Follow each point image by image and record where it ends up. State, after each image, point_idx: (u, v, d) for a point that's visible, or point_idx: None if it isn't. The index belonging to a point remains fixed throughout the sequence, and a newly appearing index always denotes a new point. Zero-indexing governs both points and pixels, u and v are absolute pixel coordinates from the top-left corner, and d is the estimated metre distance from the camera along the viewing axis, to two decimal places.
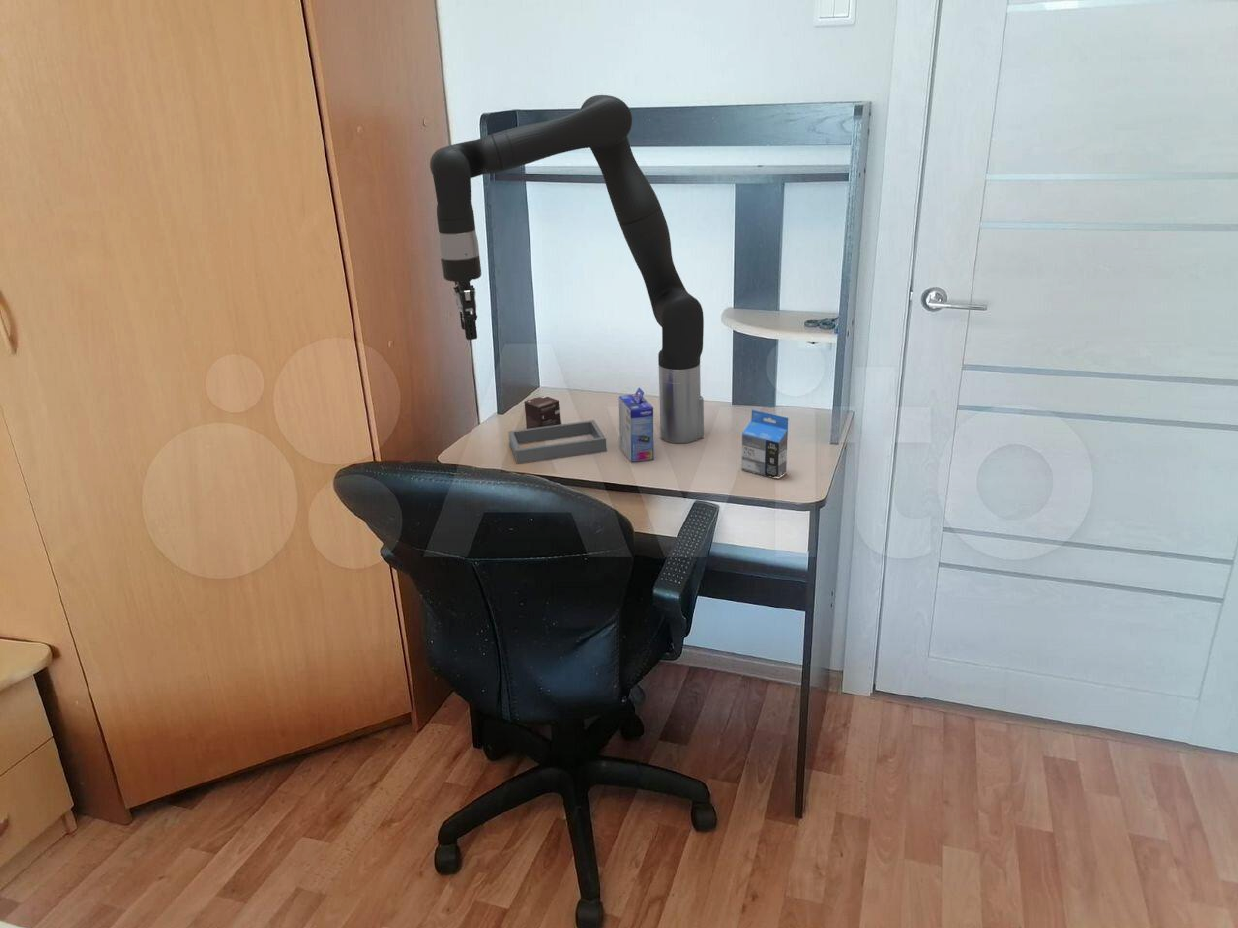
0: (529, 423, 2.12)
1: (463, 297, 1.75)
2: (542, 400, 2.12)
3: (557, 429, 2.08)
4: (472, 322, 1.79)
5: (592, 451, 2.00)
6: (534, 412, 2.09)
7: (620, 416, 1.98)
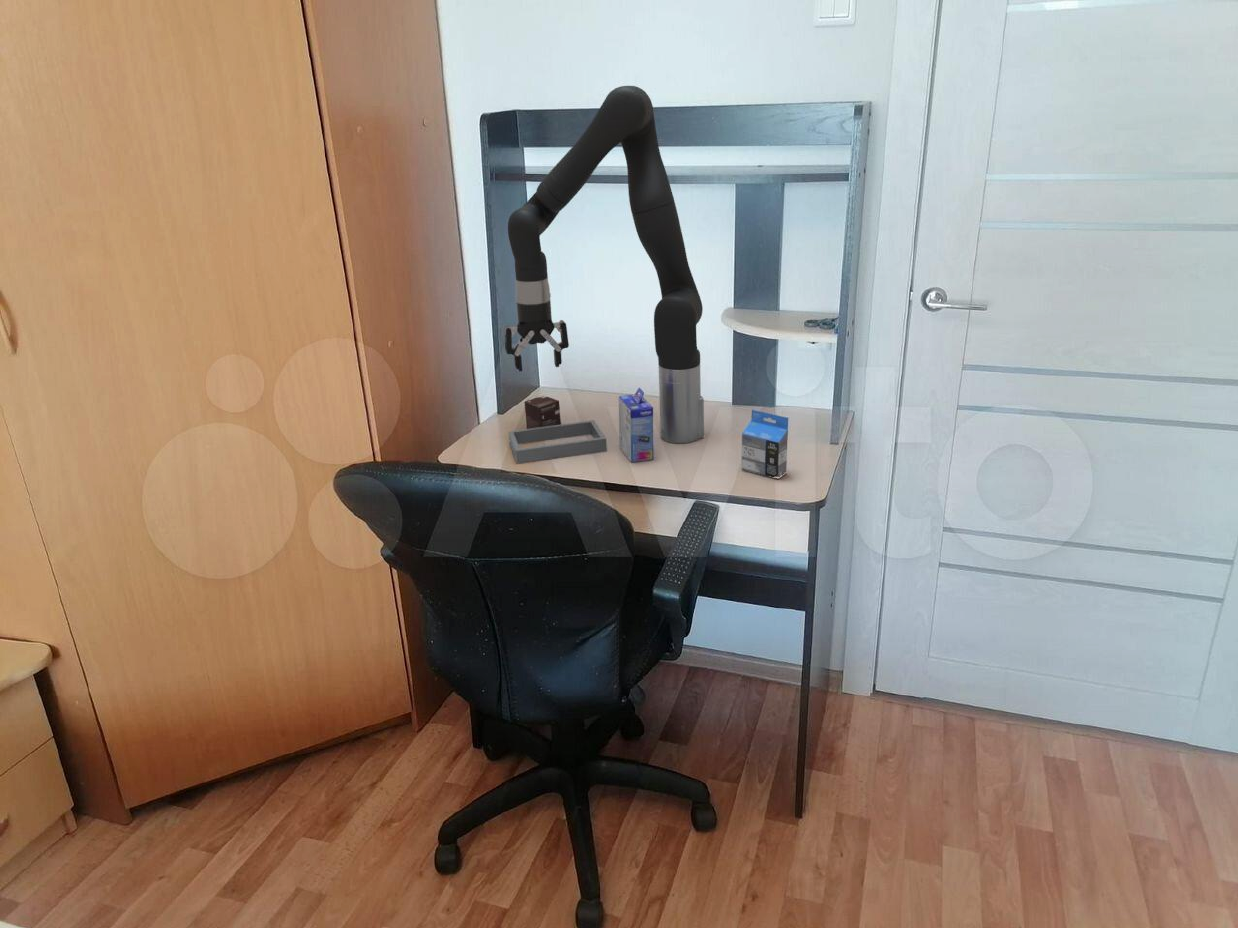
0: (529, 423, 2.12)
1: None
2: (542, 400, 2.12)
3: (557, 429, 2.08)
4: None
5: (592, 451, 2.00)
6: (534, 412, 2.09)
7: (620, 416, 1.98)
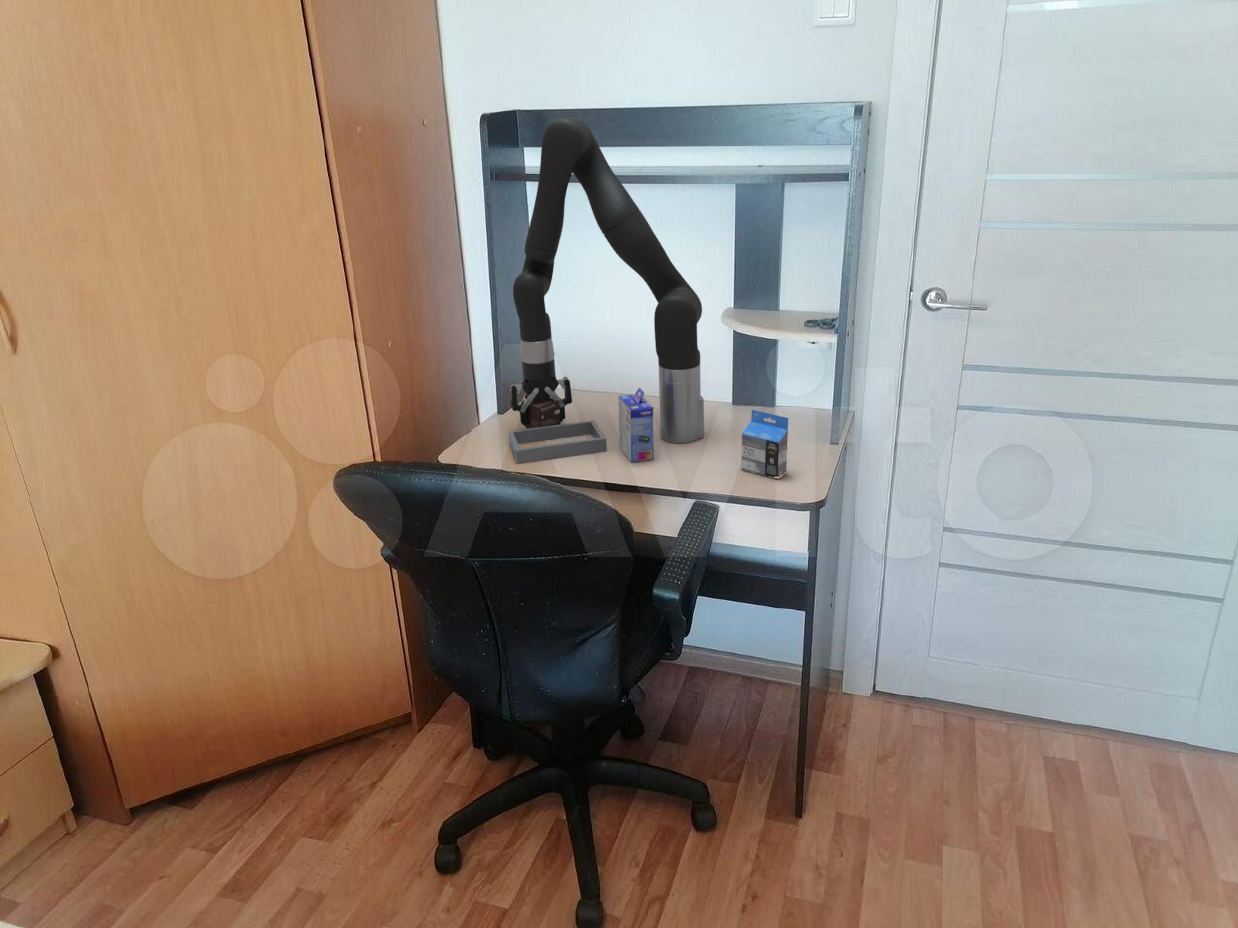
0: (529, 423, 2.12)
1: None
2: (542, 399, 2.12)
3: (557, 429, 2.08)
4: None
5: (592, 451, 2.00)
6: (534, 411, 2.09)
7: (620, 416, 1.98)
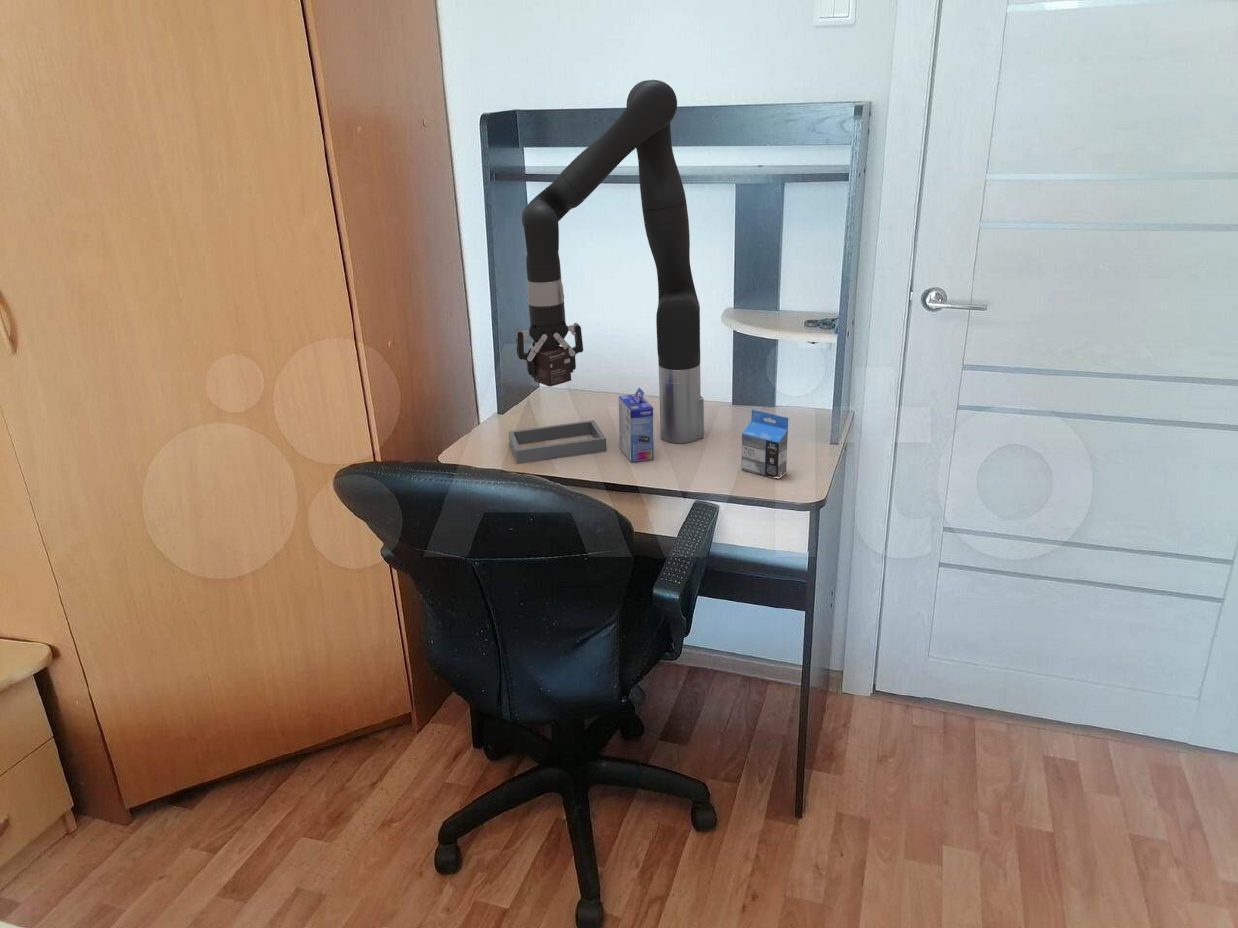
0: (536, 373, 1.96)
1: None
2: (551, 348, 1.95)
3: (557, 429, 2.08)
4: None
5: (592, 451, 2.00)
6: (542, 360, 1.93)
7: (620, 416, 1.98)
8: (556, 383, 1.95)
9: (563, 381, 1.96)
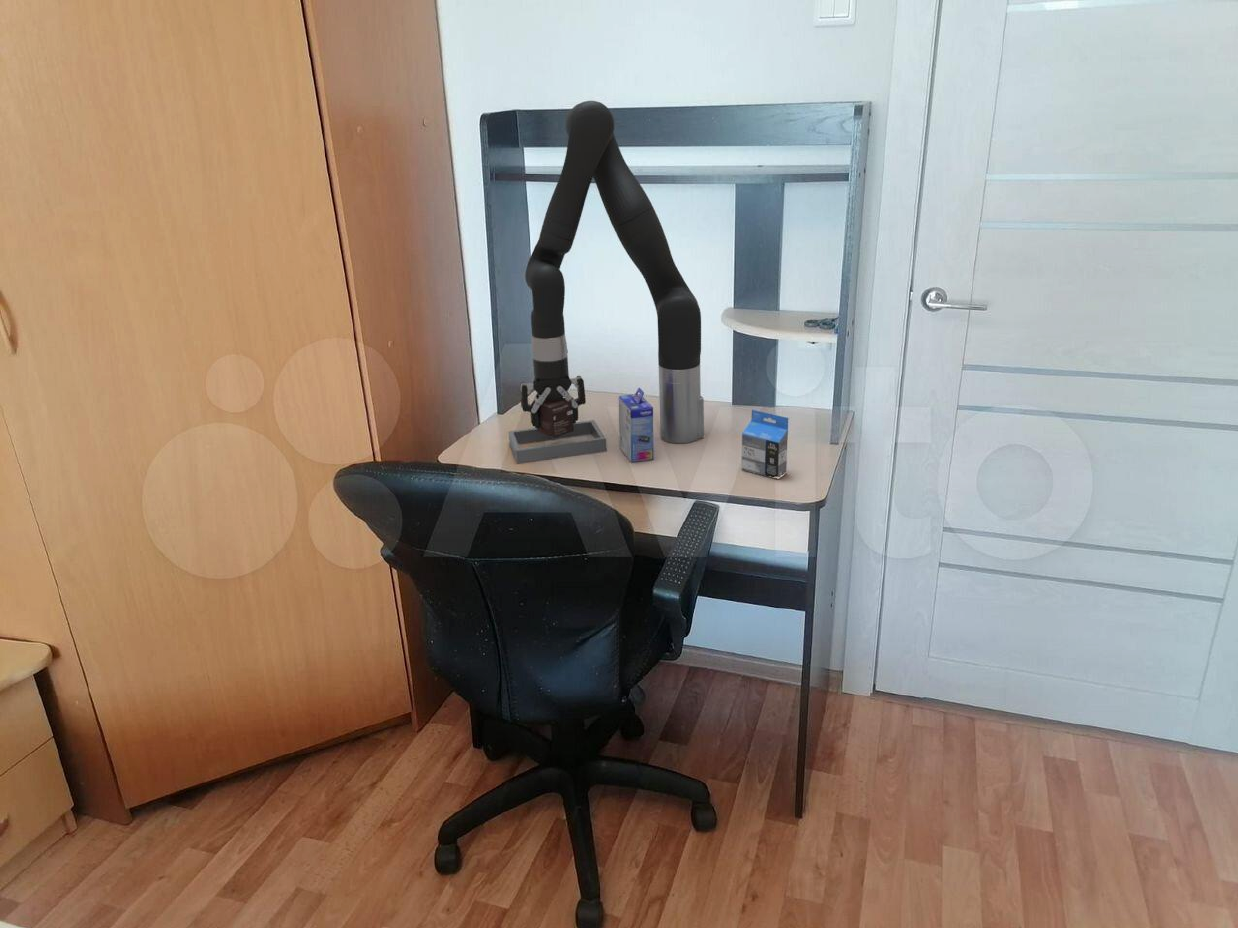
0: (540, 424, 2.01)
1: None
2: (554, 399, 2.00)
3: None
4: None
5: (592, 451, 2.00)
6: (546, 412, 1.98)
7: (620, 416, 1.98)
8: (559, 434, 2.00)
9: (566, 432, 2.01)
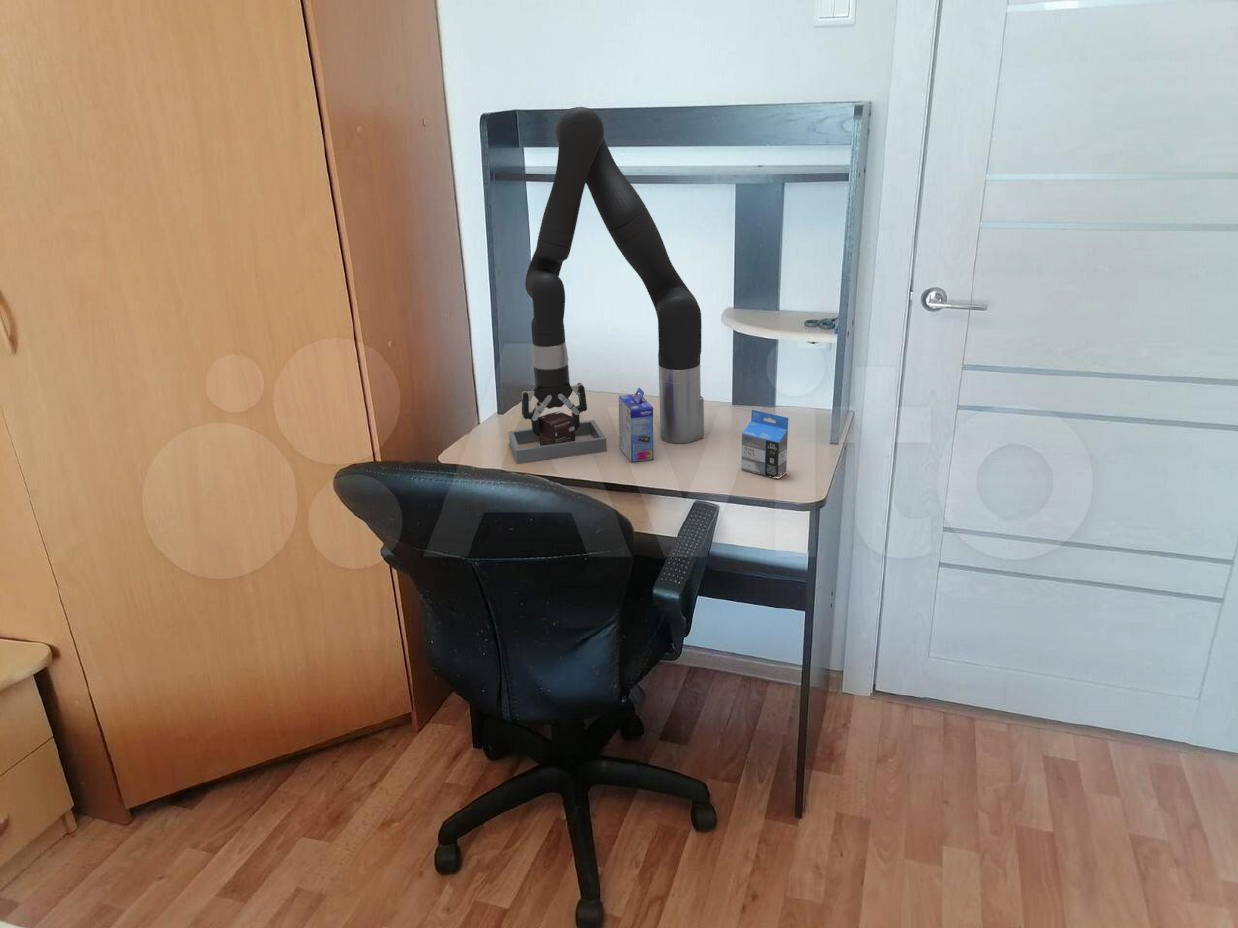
0: (542, 440, 2.03)
1: None
2: (556, 416, 2.02)
3: None
4: None
5: (592, 451, 2.00)
6: (547, 428, 1.99)
7: (620, 416, 1.98)
8: None
9: None
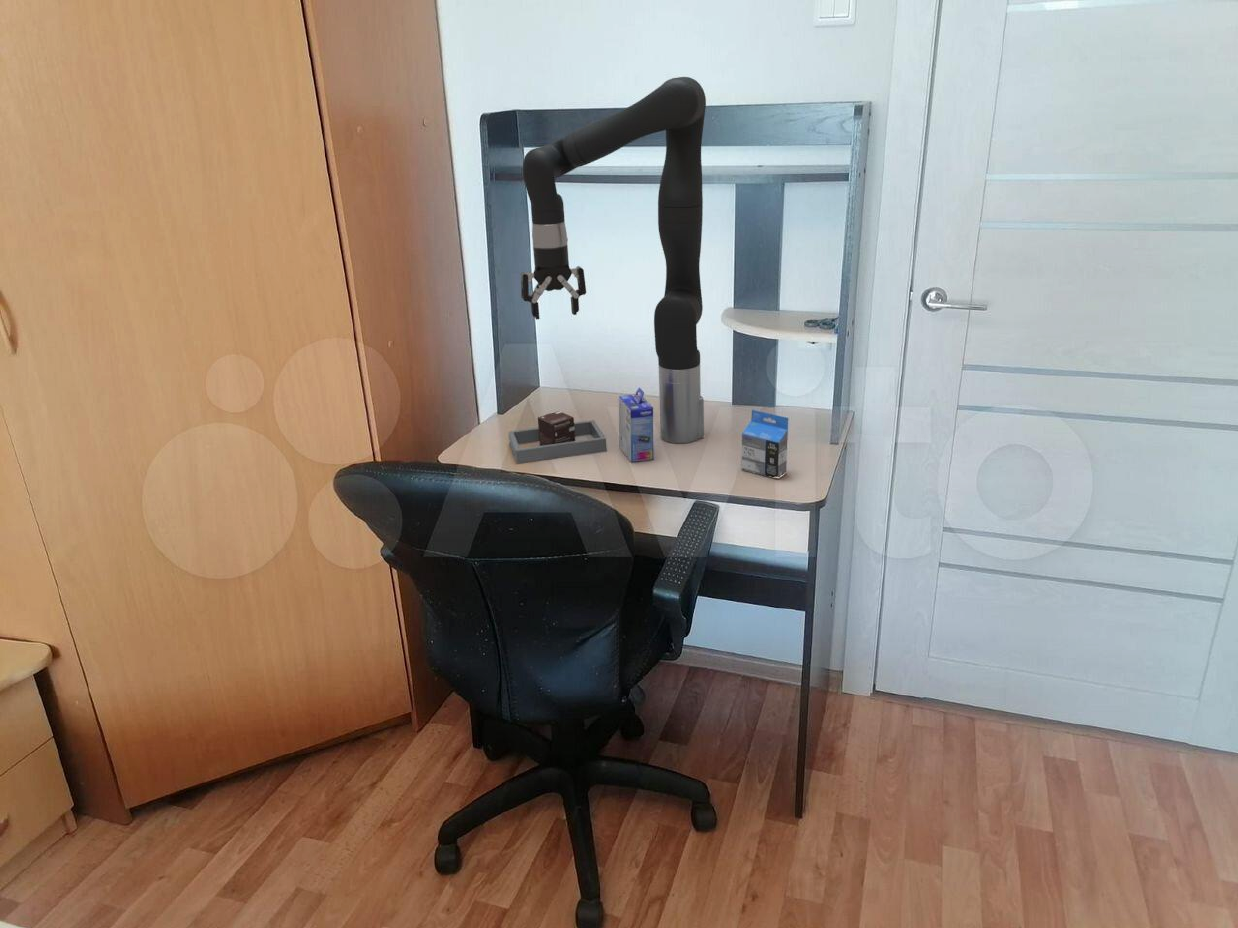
0: (542, 440, 2.03)
1: None
2: (556, 416, 2.02)
3: None
4: None
5: (592, 451, 2.00)
6: (547, 428, 1.99)
7: (620, 416, 1.98)
8: None
9: None
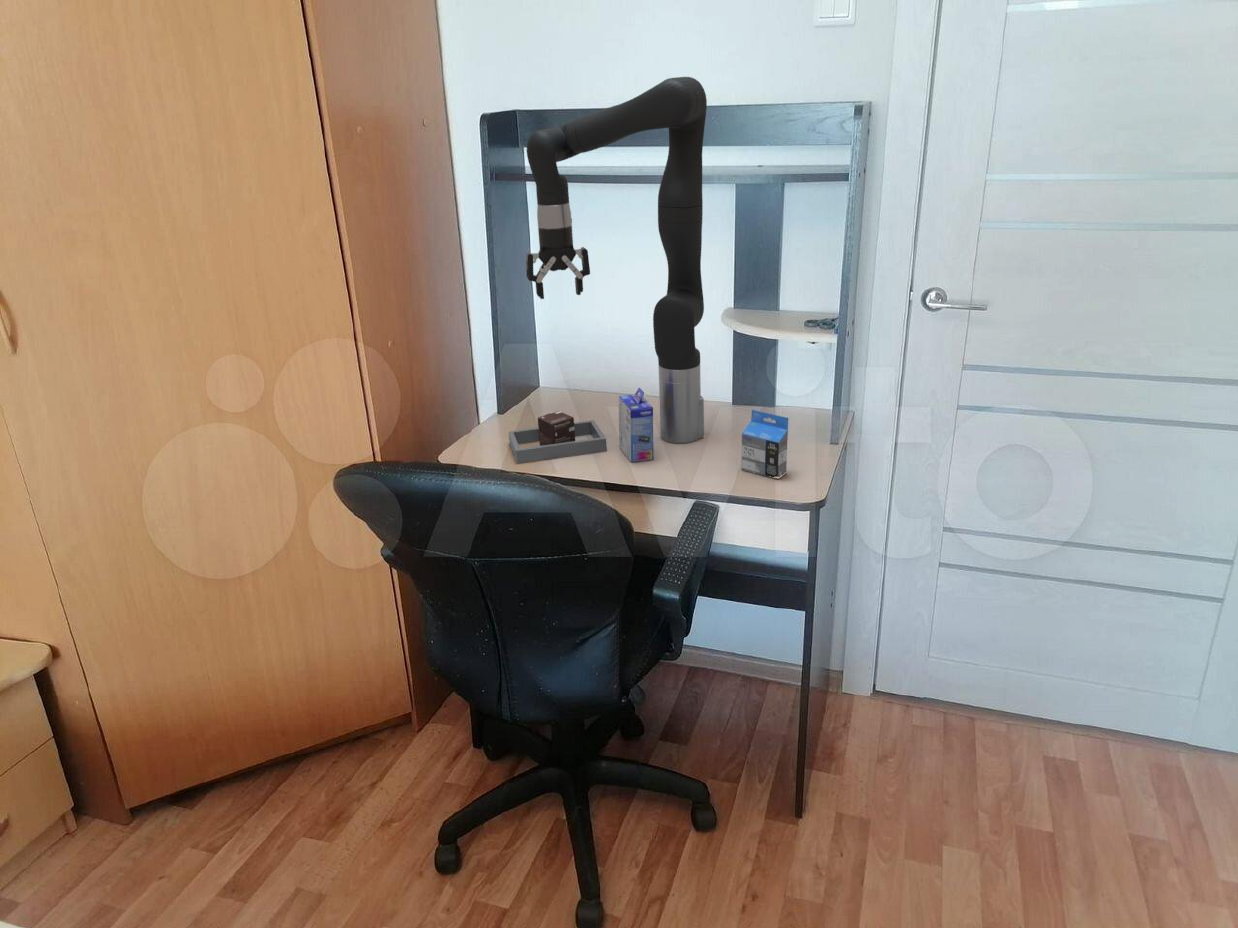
0: (542, 440, 2.03)
1: None
2: (556, 416, 2.02)
3: None
4: None
5: (592, 451, 2.00)
6: (547, 428, 1.99)
7: (620, 416, 1.98)
8: None
9: None
